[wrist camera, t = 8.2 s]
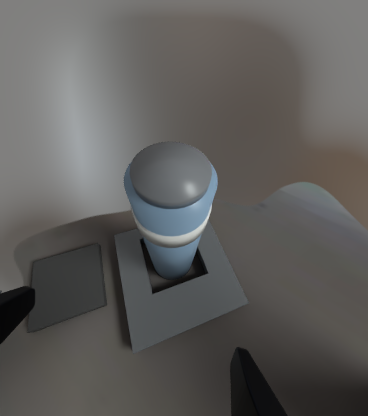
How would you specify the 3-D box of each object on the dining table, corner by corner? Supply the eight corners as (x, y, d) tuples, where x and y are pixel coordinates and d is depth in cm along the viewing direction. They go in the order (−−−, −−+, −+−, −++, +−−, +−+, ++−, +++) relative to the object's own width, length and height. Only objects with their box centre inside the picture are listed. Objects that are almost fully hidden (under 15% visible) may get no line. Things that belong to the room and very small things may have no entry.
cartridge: (178, 289, 20) (187, 233, 7) (143, 265, 21) (95, 177, 8) (200, 253, 22) (238, 159, 9) (167, 233, 24) (160, 125, 10)
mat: (33, 332, 17) (27, 332, 17) (38, 263, 21) (33, 261, 20) (107, 305, 19) (104, 304, 18) (100, 245, 22) (97, 243, 22)
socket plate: (136, 351, 17) (133, 354, 16) (117, 239, 23) (114, 235, 22) (244, 304, 20) (249, 303, 18) (202, 214, 25) (203, 209, 24)
